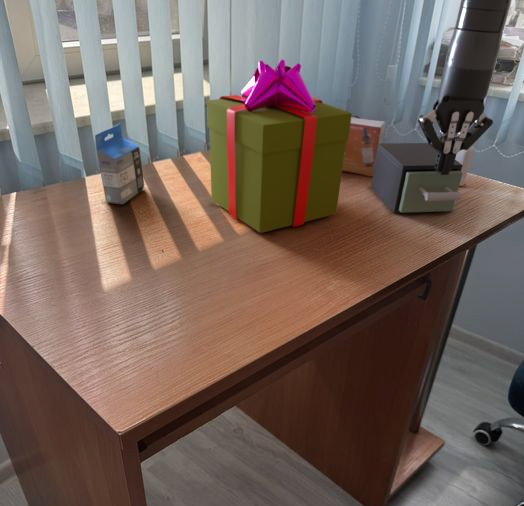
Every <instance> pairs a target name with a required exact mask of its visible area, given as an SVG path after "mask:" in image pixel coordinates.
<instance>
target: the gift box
mask: <svg viewBox="0 0 524 506" xmlns="http://www.w3.org/2000/svg"><path fill="white" fill-rule="evenodd" d="M301 68H302V65H301V64H300V63H299V62H297V63H296V64H295V65H294V66H292V67H290V66H288V65H286V61H285V59H280V61H279V62H278V63H277V65H276V67H275V68H273V67H272V66H270V65H269V64H268V63H267V64H266V63H265V62H264V61H263V60H260V61H258V67H257V68H256V69H255V71H254V72H253V73H252V75H251V76H250V78H249V79H248V81H247V83H246V84H245V85H244V87H243V89H241V95H237V94H233V95H221V96H220V97H219V98H218V99H208V100H206V116H207V117H206V119H207V121H206V122H207V123H206V124H207V128H209V153H210V154H209V155H210V157H209V158H210V190H211V191H210V194H211V195H210V196H211V197H210V199H211V201H212V202H214V203H215V204H217V205H219V206H220V207H221V208H223V209H224V210H226V211H227V212H228V214H229V216H231V217H232V218H233V219H235V220H237V221H239V220H240V221H242V222H243V223H245V224H246V225H247V226H249V227H250V228H252V229H253V230H255V231H256V232H258V233H259V234H262V233H266V232H270V231H271V232H272V231H274V230H278V229H279V230H280V229H283V228H286V227H290V228H294V227H300V226H302V225H304V224H305V223H306V222H310V221H314V220H318V219H322V218H326V217H329V216H334V215H336V214H337V211H338V204H339V196H340V189H341V182H342V174H343V171H342V166H343V159H344V151H345V143H346V140H348V138H349V130H350V123H351V116H353V115H352V112H350V111H347V110H344V109H341V108H339V107H335V106H332V105H331V104H327V103H324V102H323V100H321V99H319V98H316V97H313V96H312V95H311V93H310V90H309V89H308V87H307V85H306V83H305V81H304V78H303V76H302V74H301Z"/></svg>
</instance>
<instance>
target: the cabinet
mask: <svg viewBox="0 0 524 506" xmlns="http://www.w3.org/2000/svg"><path fill="white" fill-rule="evenodd" d="M437 153H438V151H437V150H436V149H434V148H433V147H431V146H430V145H429V143H428V142H400V143H399V142H396V143H395V142H393V143H391V142H390V143H385V142H384V143H383V142H382V144H378V149H377V155H376V161H375V166H374V172H373V176H372V179H371V184H370V189H371V190H372V191H373V192H374V193H375V194H376V196H377V197H378V198H379V199H380V200H381V201H382V202H383V203H384V204H385V206H386V207H387V208H388V209H389V210H390V211H391V212H392V214H395V215H396V214H402V213H401V212H400V211H399V207H400V205H399V204H400V199H401V194H402V190H403V185H404V180H405V175H406V170H435V169H434V165H435V161H436V157H437ZM462 166H463V165H462V164H461V163H459V162H458V161H457V160H455V162H454V165H453V169H452V171H461V169H462ZM450 212H451V211H435V212H434V213H450ZM422 213H423V214H425V213H428V212H404V213H403V214H422Z"/></svg>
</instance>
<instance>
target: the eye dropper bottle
mask: <svg viewBox="0 0 524 506" xmlns="http://www.w3.org/2000/svg"><path fill="white" fill-rule="evenodd" d="M473 153H474V150H473V147H472V146H471V147H470V148H469V149H468V150H464V149H463V150H461V151H459V152H458V153H457V154H456V158H455V160H457V161H458V162H459V163H461V164H462V165H463V166H462V169H461V172H462V173H463V174H462V177H461V181H460V185H459V187H463V186H464V185H465V183H466V180H467V177H468V172H469V169H470V165H471V162H472V157H473Z"/></svg>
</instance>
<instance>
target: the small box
mask: <svg viewBox="0 0 524 506" xmlns="http://www.w3.org/2000/svg"><path fill="white" fill-rule="evenodd" d="M360 118H361V117H360ZM360 118H355V117H351V123H350V130H349V138H348V140H346V143H345V151H344V159H343V166H342V172H347V173H354V174H359V175H363V176H368V177H373V172H374V166H375V161H376V155H377V149H378V144H383V140H384V133H385V128H386V121H384V120H374V119H367V118H366V119H365V118H361V119H360Z"/></svg>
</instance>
